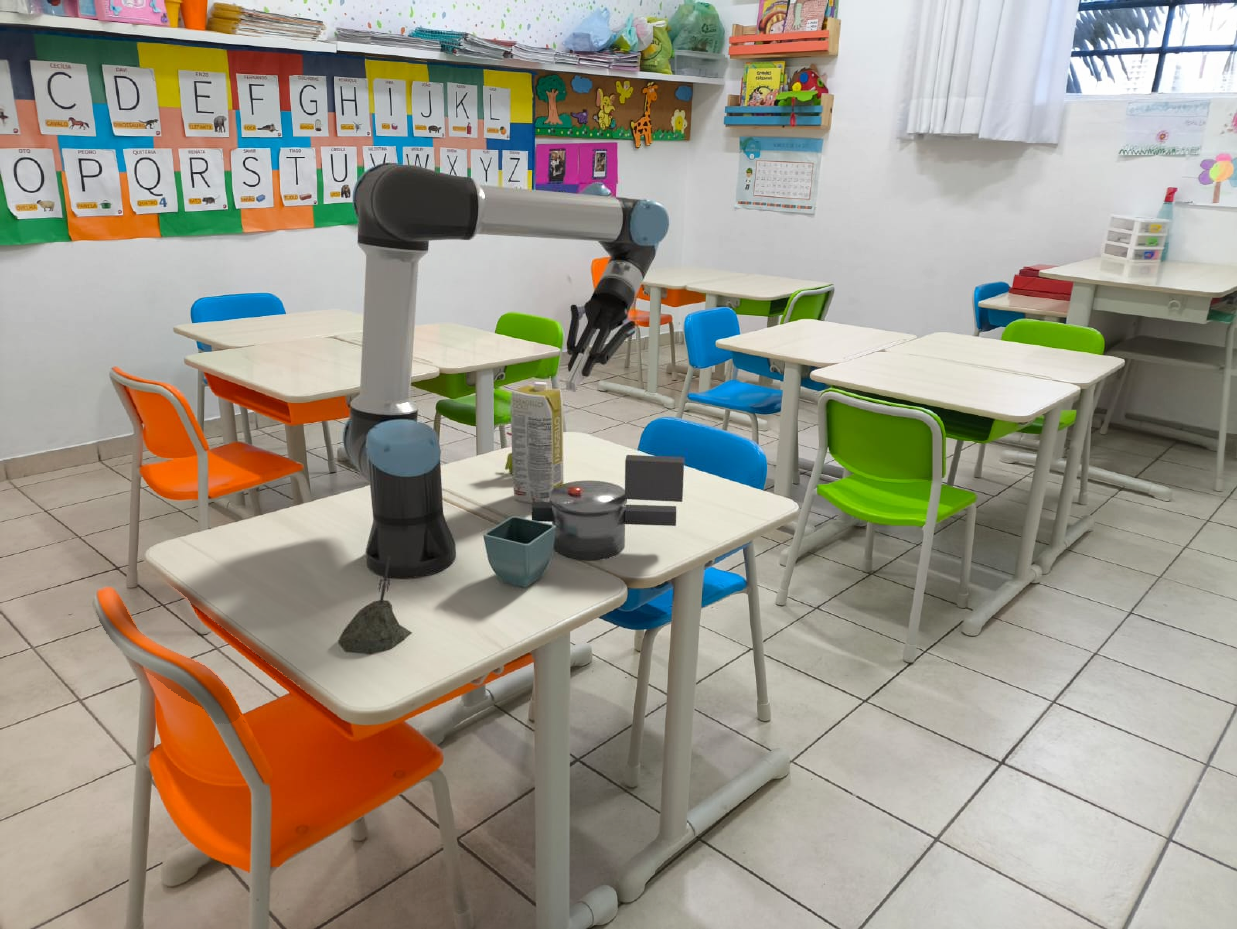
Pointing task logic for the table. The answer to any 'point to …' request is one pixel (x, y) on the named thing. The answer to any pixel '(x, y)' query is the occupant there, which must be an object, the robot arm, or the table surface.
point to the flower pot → (520, 549)
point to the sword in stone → (374, 627)
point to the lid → (642, 482)
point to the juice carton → (536, 442)
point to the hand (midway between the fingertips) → (570, 386)
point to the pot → (598, 528)
